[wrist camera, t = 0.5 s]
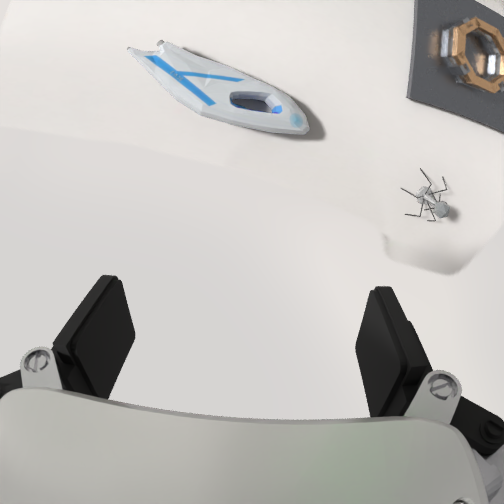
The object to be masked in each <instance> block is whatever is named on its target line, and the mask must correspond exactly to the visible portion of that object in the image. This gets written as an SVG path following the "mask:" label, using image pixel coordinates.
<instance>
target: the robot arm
mask: <svg viewBox="0 0 504 504" xmlns="http://www.w3.org/2000/svg"><path fill="white" fill-rule="evenodd" d="M134 340H135V330H134V326H133V323H132V319H131V316H130V312H129V308H128V304H127V300H126V296H125V292H124V288H123V284H122V281H121V280H118V278H117V276H111V275H103V276H101V277H100V279H99V280H98V281H97V282H96V284H95V285H94V286H93V288H92V289H91V290H90V291H89V293H88V294H87V295H86V297H85V298H84V300H83V301H82V302H81V304H80V305H79V306H78V308H77V309H76V311H75V312H74V313H73V315H72V316H71V318H70V319H69V320H68V322H67V323H66V324H65V326H64V327H63V329H62V330H61V332H60V333H59V335H58V336H57V337H56V339H55V341H54V342H53V345H54V346H53V347H52V349H51V350H50V349H49V348H46V347H37V348H34V349H31V350H30V351H28V352H27V353H26V354H25V355H24V356H23V358H22V360H21V363H20V370H18V371H15V372H13V373H11V374H8V375H6V376H4V377H1V378H0V504H504V421H503V420H502V419H501V418H500V417H498V416H497V415H495V414H493V413H491V412H489V411H487V410H486V409H484V408H482V407H480V406H478V405H476V404H475V403H473V402H471V401H469V400H468V399H466V398H464V397H462V396H461V393H462V388H461V384H460V382H459V380H458V379H457V378H456V377H455V376H454V375H452V374H451V373H449V372H446V371H443V370H436V371H433V369H432V367H431V365H430V362H429V360H428V358H427V356H426V353H425V351H424V349H423V347H422V344H421V342H420V340H419V338H418V335H417V333H416V331H415V329H414V327H413V325H412V323H411V322H410V321H408V320H407V318H406V316H405V314H404V312H403V310H402V308H401V306H400V303H399V302H398V300H397V297H396V295H395V293H394V291H393V289H392V288H391V287H388V286H387V287H386V286H384V287H383V286H382V287H381V286H378V287H375V289H374V290H371V291H370V293H369V297H368V301H367V305H366V308H365V312H364V316H363V320H362V323H361V327H360V330H359V334H358V338H357V341H356V346H355V349H356V355H357V359H358V363H359V367H360V372H361V376H362V380H363V385H364V389H365V394H366V398H367V403H368V407H369V412H370V418H352V419H322V420H278V419H276V420H275V419H252V418H236V417H222V416H211V415H202V414H193V413H184V412H177V411H170V410H163V409H157V408H150V407H144V406H139V405H133V404H128V403H123V402H118V401H113V400H108V398H109V396H110V393H111V391H112V389H113V386H114V384H115V382H116V380H117V377H118V375H119V373H120V371H121V368H122V366H123V364H124V362H125V360H126V357H127V355H128V353H129V351H130V349H131V347H132V344H133V342H134Z"/></svg>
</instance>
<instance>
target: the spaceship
mask: <svg viewBox="0 0 504 504" xmlns="http://www.w3.org/2000/svg"><path fill="white" fill-rule="evenodd" d="M157 46H158V47H159V48H160V51H141V50H138V49H134V48H131V47H128V48H127V50H128V52H129V53H130V54H131V55H132V56H133V57H134V58H135V59H136V60H137V61H138V62H139V63H140V64H141V65H142V66H143V67H144V68H145V69H146V70H147V71H148V72H149V73H150V74H151V75H152V76H153V77H154V78H155V79H156V80H157V81H158V82H159V83H160V84H161V85H162V86H163V87H164V88H165V89H166V90H167V91H168V92H169V93H170V94H171V95H172V96H173V97H174V98H175V99H176V100H177V101H179V102H180V103H182V104H183V105H185V106H187V107H188V108H190V109H191V110H193V111H194V112H196V113H197V114H199V115H201V116H204V117H207V118H211V119H214V120H218V121H221V122H225V123H228V124H232V125H237V126H242V127H246V128H251V129H256V130H261V131H266V132H271V133H286V134H302V135H305V134H306V133H307V132H308V131H309V130H310V128H309V124H308V121H307V117H306V115H305V114H304V112H303V111H302V110H301V109H300V108H299V107H298V105H297V104H296V103H295V102H294V101H293V100H292V99H291V97H290V96H289V95H287V94H285V93H284V92H282V91H280V90H278V89H276V88H275V87H273V86H271V85H269V84H267V83H265V82H262V81H260V80H257V79H254V78H252V77H250V76H248V75H246V74H244V73H242V72H240V71H238V70H236V69H233V68H231V67H229V66H226V65H223V64H220V63H217V62H214V61H212V60H209V59H206V58H202V57H199V56H196V55H194V54H192V53H190V52H188V51H186V50H184V49H182V48H180V47H178V46H175V45H173V44H171V43H169V42H164V41H163V40H160V41H159V42H158V43H157ZM235 99H257V100H261V101H265V102H266V104H267V105H268V106H269V107H270V108H271V110H272V113H268V112H262V111H256V110H250V109H246V108H245V107H243V106H240V105H237V104H234V103H232V100H235Z"/></svg>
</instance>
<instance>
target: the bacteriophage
mask: <svg viewBox="0 0 504 504" xmlns="http://www.w3.org/2000/svg"><path fill="white" fill-rule="evenodd" d="M420 170H421V168H420ZM421 171H422V170H421ZM422 172H423V171H422ZM423 174H424V172H423ZM424 175H425V174H424ZM425 177H426V175H425ZM426 178H427V177H426ZM442 178H443V177H442ZM427 179H428V178H427ZM428 181H429V179H428ZM443 181H444V178H443ZM429 182H430V181H429ZM430 184H431V182H430ZM444 184H445V181H444ZM431 185H432V184H431ZM431 185H430V186H431ZM430 186H429V188H427V187H424V186H423V187H421V189H420V190H419V191H418V192H417V193H416V196H417V197H416V196H415V197H416V198H417V201H418V203H421V204H422V207H423V205H424V204H427V203H429V204H431V205H432V206H433V207H434V208H430V206H429V204H428V206H429V208H430V210H431V209H434V212H433V213H435V214H436V215H437V216H438V217H439V218H443V217H447V216H448V213H449V209H450V207H449V206H448V205H447V203H446V202H444V201H442V202H440V197H439V202H437V201H436V199H435V197H434V195H433V193H432V191H431V189H430ZM445 187H446V185H445ZM401 189H402V188H401ZM402 190H404V189H402ZM445 190H447V188H446V189H445ZM445 190H442V191H445ZM404 191H406V190H404ZM406 192H408V191H406ZM438 192H441V191H438ZM408 193H409V192H408ZM434 193H437V192H434ZM409 194H411V193H409ZM411 195H413V194H411ZM432 195H433V197H434V199H435V200H434V199H433V198H432ZM413 196H414V195H413ZM423 198H424V199H423ZM424 210H429V209H424ZM421 212H422V208H421ZM431 212H432V211H431ZM433 213H432V215H433ZM405 215H410V214H405ZM411 216H417V215H411ZM420 216H421V213H420ZM420 216H418V217H420ZM433 217H434V215H433ZM434 219H435V218H434ZM427 221H436V220H427Z"/></svg>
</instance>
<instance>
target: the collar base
mask: <svg viewBox="0 0 504 504" xmlns="http://www.w3.org/2000/svg"><path fill="white" fill-rule="evenodd" d="M407 98H410V99H414V100H417V101H420V102H424V103H427V104H430V105H433V106H436V107H439V108H442V109H445V110H448V111H451V112H454V113H457V114H459V115H462V116H465V117H467V118H470V119H473V120H475V121H478V122H480V123H483V124H485V125H487V126H490V127H492V128H495V129H497V130H499V131H501V132H504V17H503V16H501V15H500V14H498V13H496V12H495V11H493V10H491V9H489V8H488V7H486V6H484V5H482V4H480V3H478V2H477V1H475V0H415V5H414V27H413V42H412V54H411V64H410V74H409V82H408V90H407Z"/></svg>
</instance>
